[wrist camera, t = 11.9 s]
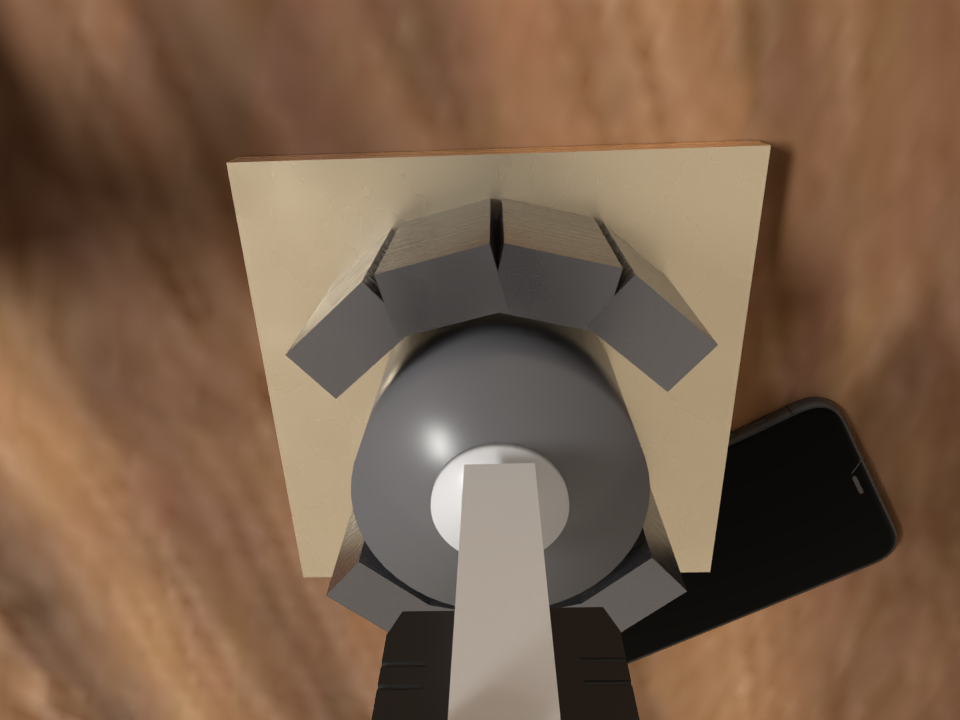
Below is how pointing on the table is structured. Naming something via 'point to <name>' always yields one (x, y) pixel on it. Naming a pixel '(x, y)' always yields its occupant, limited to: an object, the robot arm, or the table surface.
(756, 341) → the table surface
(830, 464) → the smartphone
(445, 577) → the dark grey rounded knob
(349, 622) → the table surface
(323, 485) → the plate with grey arcs
